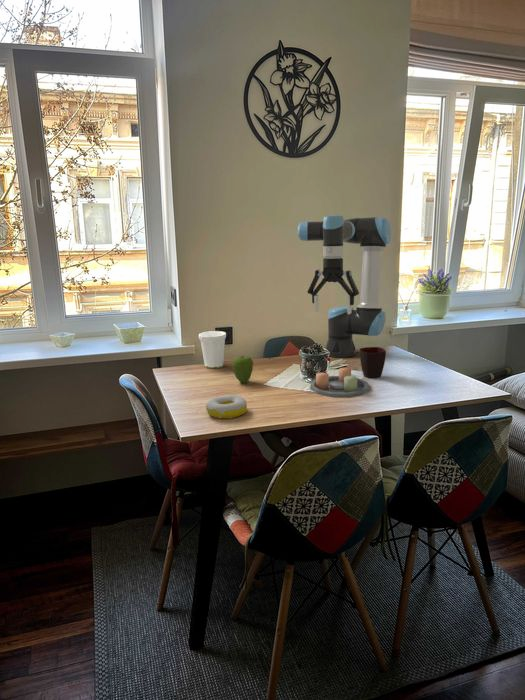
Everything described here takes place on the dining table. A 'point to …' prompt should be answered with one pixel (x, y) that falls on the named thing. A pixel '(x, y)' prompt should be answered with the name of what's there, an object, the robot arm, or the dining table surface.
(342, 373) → the terracotta bead
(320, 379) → the terracotta bead
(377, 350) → the mug
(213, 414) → the donut
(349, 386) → the olive bead
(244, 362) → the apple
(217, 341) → the cup
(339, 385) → the groove tray
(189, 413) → the dining table surface
